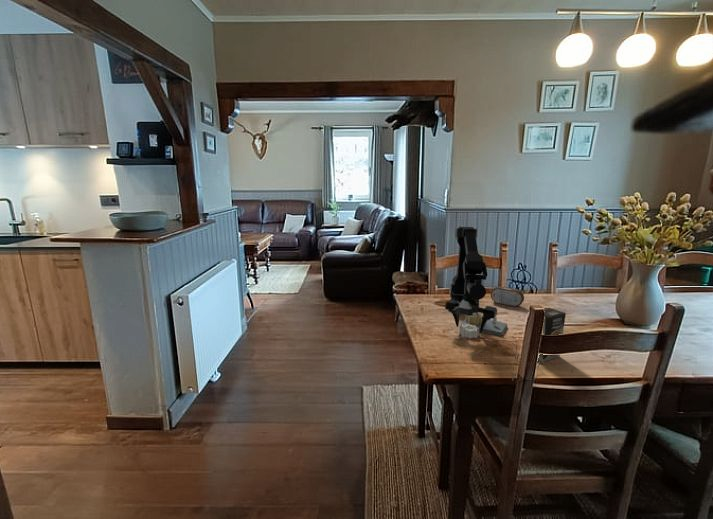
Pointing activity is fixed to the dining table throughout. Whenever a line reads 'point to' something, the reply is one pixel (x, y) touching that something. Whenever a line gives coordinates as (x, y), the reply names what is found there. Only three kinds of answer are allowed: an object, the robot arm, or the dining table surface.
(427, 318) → the dining table surface
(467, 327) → the loose gear
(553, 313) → the coffee box
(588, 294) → the dining table surface
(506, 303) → the tin
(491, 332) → the gear board
